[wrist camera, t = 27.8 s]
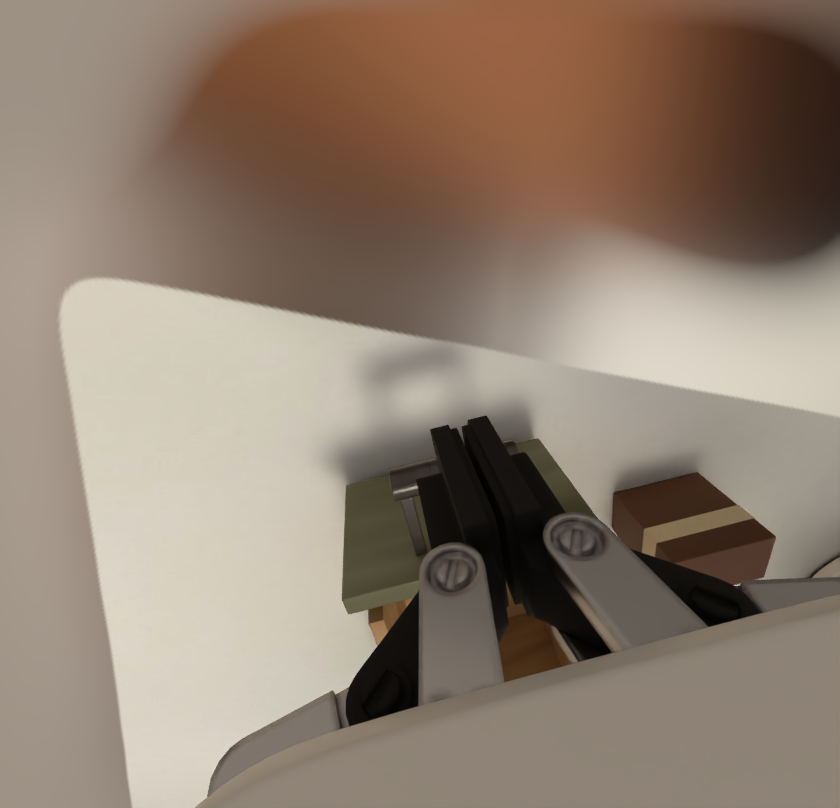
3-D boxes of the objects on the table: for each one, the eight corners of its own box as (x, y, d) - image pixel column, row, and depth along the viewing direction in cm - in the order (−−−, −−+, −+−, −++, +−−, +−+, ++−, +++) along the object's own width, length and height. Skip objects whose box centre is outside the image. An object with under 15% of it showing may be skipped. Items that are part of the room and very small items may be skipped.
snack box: (613, 492, 32) (673, 563, 26) (698, 471, 33) (777, 536, 26) (611, 529, 34) (667, 603, 28) (691, 509, 34) (764, 577, 28)
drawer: (320, 417, 25) (304, 519, 17) (533, 366, 25) (612, 443, 17) (401, 638, 36) (413, 762, 28) (549, 600, 36) (602, 712, 28)
